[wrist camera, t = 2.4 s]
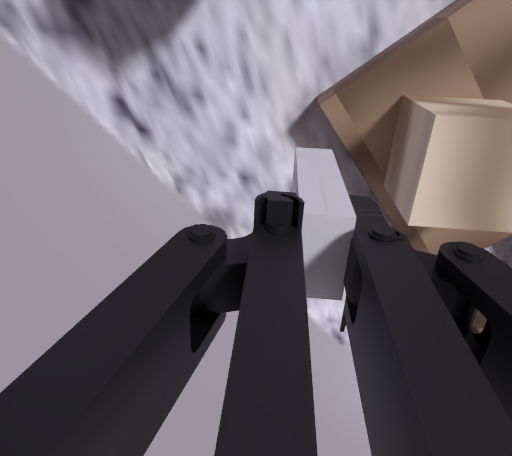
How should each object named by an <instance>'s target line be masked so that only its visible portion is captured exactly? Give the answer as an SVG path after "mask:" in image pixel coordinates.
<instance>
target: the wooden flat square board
mask: <svg viewBox="0 0 512 456" xmlns="http://www.w3.org/2000/svg"><path fill="white" fill-rule="evenodd" d="M403 95H415V96H434V97H452V98H470V99H489V100H503V101H506V102H508V103H511V104H512V0H456V1H454V2H453V3H451V4H450V5H448V6H447V7H446V8H444V9H443V10H441V11H440V12H438V13H437V14H435V15H434V16H433V17H431V18H430V19H428V20H427V21H425V22H424V23H422V24H421V25H420V26H418V27H417V28H415V29H414V30H412V31H411V32H409V33H408V34H407V35H405V36H404V37H402V38H401V39H399V40H398V41H397V42H395V43H394V44H392V45H391V46H389V47H388V48H386V49H385V50H384V51H382V52H381V53H379V54H378V55H376V56H375V57H373V58H372V59H371V60H369V61H368V62H366V63H365V64H363V65H362V66H360V67H359V68H358V69H356V70H355V71H353V72H352V73H350V74H349V75H347V76H346V77H345V78H343V79H342V80H340V81H339V82H337V83H336V84H334V85H333V86H332V87H330V88H329V89H327V90H326V91H324V92H323V93H321V94H320V95H319V96H317V97H316V99H317V101H318V103H319V106H320V107H321V109H322V110H323V112H324V114H325V115H326V117H327V119H328V120H329V122H330V123H331V125H332V127H333V128H334V130H335V131H336V133H337V135H338V136H339V138H340V140H341V141H342V143H343V144H344V146H345V148H346V149H347V151H348V152H349V154H350V156H351V157H352V159H353V161H354V162H355V164H356V165H357V167H358V169H359V170H360V172H361V173H362V175H363V177H364V178H365V180H366V182H367V183H368V185H369V186H370V188H371V190H372V191H373V193H374V194H375V196H376V198H377V199H378V201H379V203H380V204H381V206H382V207H383V209H384V211H385V212H386V214H387V215H388V217H389V219H390V220H391V222H392V224H393V225H394V227H395V228H396V230H398V231H400V232H402V233H403V234H404V235H405V236H406V237H407V238H408V240H409V242H410V244H411V245H412V247H413V249H415V250H418V251H422V252H426V253H430V254H435V255H437V254H438V251H439V248H440V246H441V245H442V244H443V243H446V242H460V241H462V242H466V243H472V244H474V245H475V246H478V247H480V248H483V249H484V248H486V247H488V246H490V245H493V244H495V243H497V242H499V241H501V240H503V239H505V238H507V237H510V236H512V233H511V232H497V231H482V230H467V229H452V228H437V227H422V226H408V225H407V223H406V221H405V220H404V218H403V216H402V215H401V213H400V212H399V210H398V208H397V207H396V205H395V203H394V202H393V200H392V198H391V197H390V195H389V193H388V192H387V190H386V188H385V187H384V182H385V177H386V172H387V168H388V163H389V158H390V153H391V149H392V144H393V139H394V134H395V130H396V125H397V120H398V115H399V111H400V106H401V101H402V96H403ZM486 321H487V319H486V318H485V317H484V316H483V315H482V314H481V313H480V312H479V311H478V313H477V316H476V318H475V321H474V323H473V326H474V327H475V328H476V329H477V330H478V331H479V332H480V333H481V332H482V330H483V328H484V326H485V323H486Z"/></svg>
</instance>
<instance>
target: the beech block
mask: <svg viewBox="0 0 512 456" xmlns="http://www.w3.org/2000/svg"><path fill="white" fill-rule="evenodd" d="M384 187H385V188H386V190H387V192H388V193H389V195H390V197H391V198H392V200H393V202H394V203H395V205H396V207H397V208H398V210H399V212H400V213H401V215H402V216H403V218H404V220H405V221H406V223H407V225H408V226H422V227H437V228H452V229H467V230H482V231H497V232H511V233H512V104H511V103H508V102H506V101H503V100H489V99H470V98H452V97H434V96H415V95H403V96H402V101H401V106H400V111H399V115H398V120H397V125H396V130H395V134H394V139H393V144H392V149H391V153H390V158H389V163H388V168H387V172H386V177H385V182H384Z"/></svg>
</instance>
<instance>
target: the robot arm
mask: <svg viewBox="0 0 512 456" xmlns="http://www.w3.org/2000/svg"><path fill="white" fill-rule="evenodd" d="M344 286H345V290H346V300H345V305H344V311H343V316H342V322H341V327H340V331H341V332H344V329H345V326H346V325H347V330H348V335H349V340H350V345H351V350H352V356H353V360H354V366H355V371H356V376H357V382H358V386H359V392H360V397H361V402H362V408H363V413H364V418H365V423H366V428H367V434H368V438H369V444H370V449H371V454H372V456H512V269H511V268H510V267H509V266H507V265H506V264H505V263H503V262H502V261H501V260H499V259H498V258H497V257H495V256H494V255H493V254H491V253H490V252H488V251H486V250H485V249H483V248H480V247H478V246H475V245H474V244H472V243H466V242H462V241H460V242H446V243H443V244H442V245H441V246H440V248H439V251H438V254H437V255H435V254H430V253H426V252H422V251H418V250H415V249H413V247H412V245H411V244H410V242H409V240H408V238H407V237H406V236H405V235H404V234H403V233H402V232H400V231H398V230H396V229H394V228H390V227H389V226H388V224H387V222H386V220H385V218H384V216H383V214H382V212H381V211H380V208H379V207H378V205H377V203H376V202H375V201H373V200H372V199H370V198H369V197H367V196H352V195H348V192H347V190H346V187H345V184H344V181H343V179H342V176H341V173H340V170H339V167H338V165H337V162H336V159H335V156H334V154H333V151H332V149H317V148H301V147H296V151H295V161H294V172H293V183H292V192H277V191H267V192H266V193H263V194H260V195H258V196H257V197H256V199H255V210H254V228H253V232H252V233H251V234H249V235H247V236H245V237H241V238H236V239H227V235H226V233H225V231H224V230H222V229H221V228H219V227H215V226H212V225H206V224H200V225H198V224H197V225H193V226H190V227H186V228H184V229H182V230H181V231H179V232H178V233H177V234H176V235H175V236H173V237H172V238H171V239H170V240H169V241H168V242H167V243H166V244H165V245H163V246H162V247H161V248H160V249H159V250H158V251H157V252H156V253H155V254H154V255H152V256H151V257H150V258H149V259H148V260H147V261H146V262H145V263H144V264H143V265H142V266H140V267H139V268H138V269H137V270H136V271H135V272H134V273H133V274H132V275H130V276H129V277H128V278H127V279H126V280H125V281H124V282H123V283H122V284H120V285H119V286H118V287H117V288H116V289H115V290H114V291H113V292H112V293H110V294H109V295H108V296H107V297H106V298H105V299H104V300H103V301H102V302H101V303H99V304H98V305H97V306H96V307H95V308H94V309H93V310H92V311H90V312H89V313H88V314H87V315H86V316H85V317H84V318H83V319H82V320H80V321H79V322H78V323H77V324H76V325H75V326H74V327H73V328H72V329H71V330H69V331H68V332H67V333H66V334H65V335H64V336H63V337H62V338H61V339H59V340H58V341H57V342H56V343H55V344H54V345H53V346H52V347H51V348H50V349H48V350H47V351H46V352H45V353H44V354H43V355H42V356H41V357H40V358H38V359H37V360H36V361H35V362H34V363H33V364H32V365H31V366H30V367H29V368H27V369H26V370H25V371H24V372H23V373H22V374H21V375H20V376H19V377H18V378H16V379H15V380H14V381H13V382H12V383H11V384H10V385H9V386H7V387H6V388H5V389H4V390H3V391H2V392H1V393H0V456H143V455H144V454H145V452H146V451H147V449H148V447H149V446H150V444H151V442H152V441H153V439H154V437H155V435H156V434H157V432H158V430H159V429H160V427H161V426H162V424H163V422H164V421H165V419H166V417H167V416H168V413H169V412H170V411H171V409H172V407H173V406H174V404H175V402H176V401H177V399H178V397H179V396H180V394H181V392H182V391H183V389H184V387H185V386H186V384H187V382H188V381H189V379H190V377H191V376H192V374H193V372H194V371H195V369H196V367H197V366H198V364H199V362H200V361H201V358H202V357H203V356H204V354H205V352H206V351H207V349H208V347H209V346H210V344H211V342H212V341H213V339H214V337H215V335H216V334H217V332H218V331H219V329H220V327H221V326H222V324H223V322H224V321H225V317H226V312H231V311H238V310H239V316H238V321H237V327H236V333H235V339H234V344H233V350H232V356H231V362H230V368H229V374H228V379H227V386H226V391H225V397H224V403H223V409H222V414H221V420H220V426H219V432H218V438H217V443H216V450H215V455H214V456H317V443H316V428H315V414H314V401H313V386H312V373H311V358H310V343H309V329H308V314H307V300H306V297H309V298H321V299H333V300H342V296H343V290H344ZM478 311H479V312H480V313H481V314H482V315H483V316H484V317H485V318H486V319H487V321H486V323H485V326H484V328H483V330H482V332H481V333H480V332H479V331H478V330H477V329H476V328H475V327H474V326H473V323H474V321H475V318H476V316H477V313H478Z"/></svg>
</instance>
